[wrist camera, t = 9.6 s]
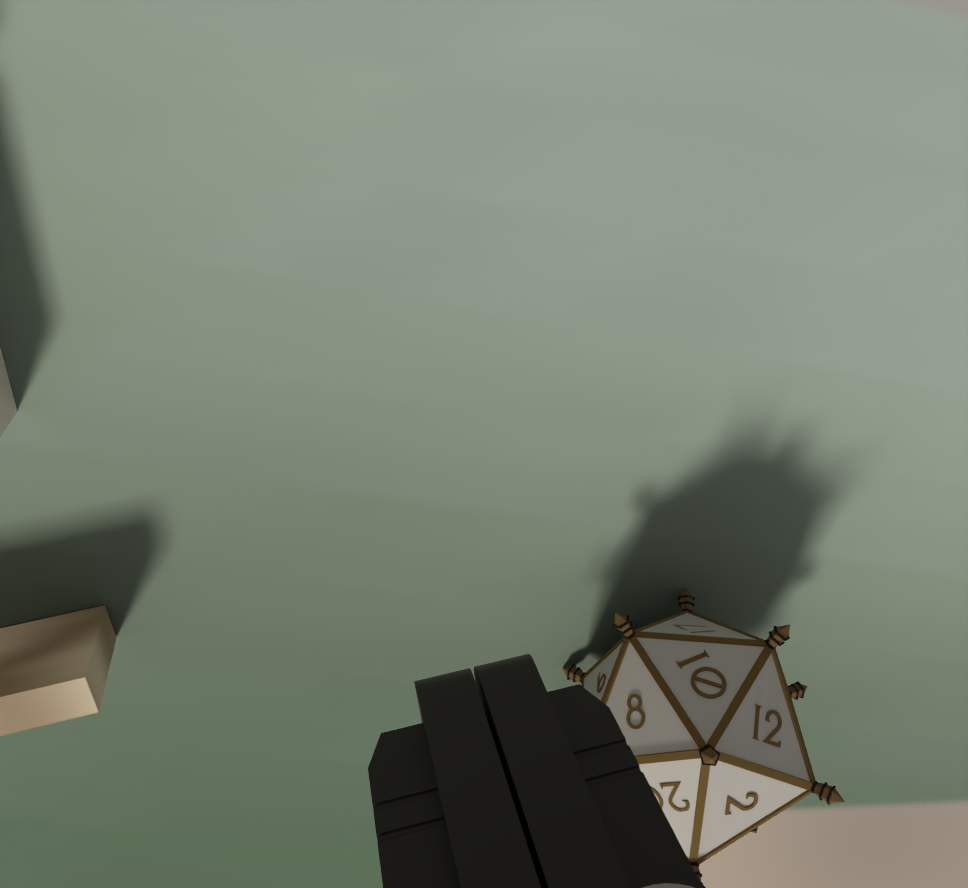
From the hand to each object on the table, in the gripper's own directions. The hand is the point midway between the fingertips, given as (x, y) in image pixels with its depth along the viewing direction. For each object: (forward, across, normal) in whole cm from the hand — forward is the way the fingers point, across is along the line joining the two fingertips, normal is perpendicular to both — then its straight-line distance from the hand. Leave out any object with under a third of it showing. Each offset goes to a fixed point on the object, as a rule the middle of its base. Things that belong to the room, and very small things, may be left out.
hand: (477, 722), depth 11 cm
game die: (+16, -8, +13) cm, 22 cm away
